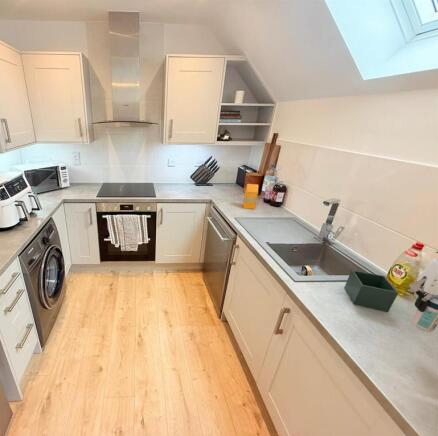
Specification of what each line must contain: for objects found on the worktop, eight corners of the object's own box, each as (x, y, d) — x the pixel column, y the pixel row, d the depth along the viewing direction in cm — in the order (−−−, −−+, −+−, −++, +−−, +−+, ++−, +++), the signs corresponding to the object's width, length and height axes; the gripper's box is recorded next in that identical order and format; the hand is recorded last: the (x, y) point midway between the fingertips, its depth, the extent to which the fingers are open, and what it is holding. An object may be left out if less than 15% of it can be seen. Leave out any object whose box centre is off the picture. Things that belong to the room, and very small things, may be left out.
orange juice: (242, 205, 203) (246, 182, 195) (253, 206, 201) (257, 183, 193) (243, 208, 196) (247, 185, 188) (254, 209, 194) (259, 185, 186)
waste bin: (375, 294, 102) (384, 275, 98) (388, 312, 92) (398, 292, 89) (344, 287, 106) (351, 269, 102) (353, 304, 96) (361, 285, 92)
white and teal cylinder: (427, 323, 76) (445, 294, 71) (436, 335, 72) (455, 305, 67) (407, 319, 78) (423, 290, 73) (415, 330, 74) (432, 300, 69)
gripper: (493, 260, 65) (460, 310, 72) (412, 249, 71) (389, 296, 78) (519, 275, 59) (480, 329, 66) (428, 262, 65) (401, 312, 72)
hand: (431, 310), depth 72 cm, fingers closed on white and teal cylinder, 4 cm apart
